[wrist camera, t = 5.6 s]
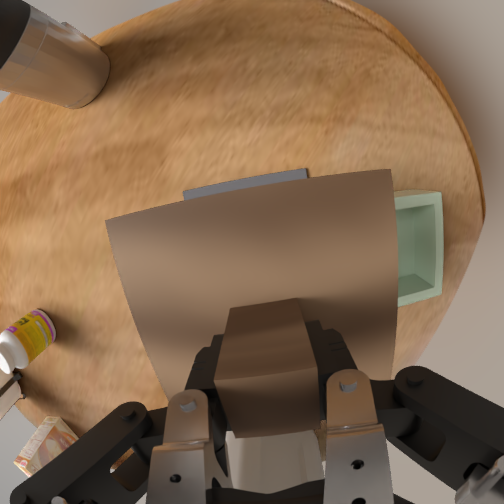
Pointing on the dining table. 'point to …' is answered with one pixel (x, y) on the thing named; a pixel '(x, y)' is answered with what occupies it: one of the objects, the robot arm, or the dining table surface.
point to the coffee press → (9, 391)
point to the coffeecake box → (45, 445)
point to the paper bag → (274, 461)
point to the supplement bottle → (25, 340)
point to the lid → (265, 289)
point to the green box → (419, 244)
